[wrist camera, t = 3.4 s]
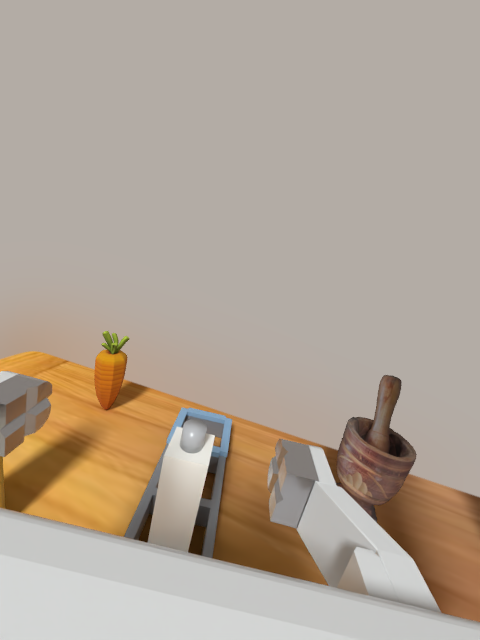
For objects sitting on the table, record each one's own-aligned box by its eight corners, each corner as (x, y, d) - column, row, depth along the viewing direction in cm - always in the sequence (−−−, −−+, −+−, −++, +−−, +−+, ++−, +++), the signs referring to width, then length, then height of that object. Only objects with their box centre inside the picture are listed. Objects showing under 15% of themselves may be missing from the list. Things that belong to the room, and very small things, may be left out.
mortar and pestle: (311, 465, 46) (348, 361, 41) (360, 478, 45) (403, 375, 41) (327, 532, 34) (380, 400, 30) (392, 550, 34) (456, 419, 29)
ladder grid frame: (227, 435, 48) (232, 417, 47) (201, 618, 24) (210, 589, 23) (179, 423, 48) (182, 406, 47) (103, 595, 24) (107, 565, 23)
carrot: (126, 406, 49) (136, 332, 46) (108, 421, 45) (118, 340, 41) (103, 398, 50) (111, 324, 47) (83, 412, 45) (91, 331, 42)
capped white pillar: (190, 537, 30) (218, 418, 26) (181, 579, 26) (213, 446, 22) (156, 529, 30) (180, 409, 26) (142, 570, 26) (167, 436, 22)
